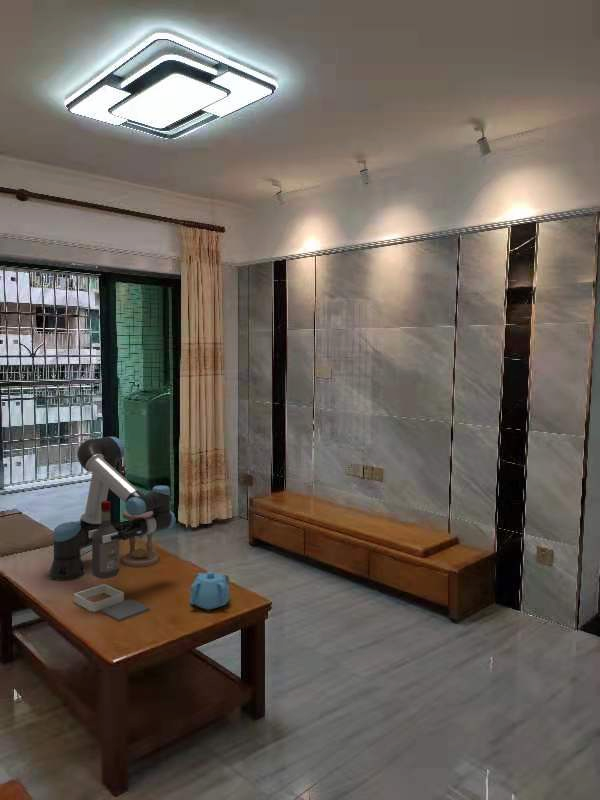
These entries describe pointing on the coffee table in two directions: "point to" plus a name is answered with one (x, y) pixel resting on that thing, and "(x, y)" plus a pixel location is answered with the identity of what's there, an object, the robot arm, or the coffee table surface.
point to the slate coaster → (125, 610)
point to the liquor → (105, 547)
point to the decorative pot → (210, 590)
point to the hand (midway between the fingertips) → (96, 537)
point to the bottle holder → (116, 598)
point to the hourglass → (139, 555)
